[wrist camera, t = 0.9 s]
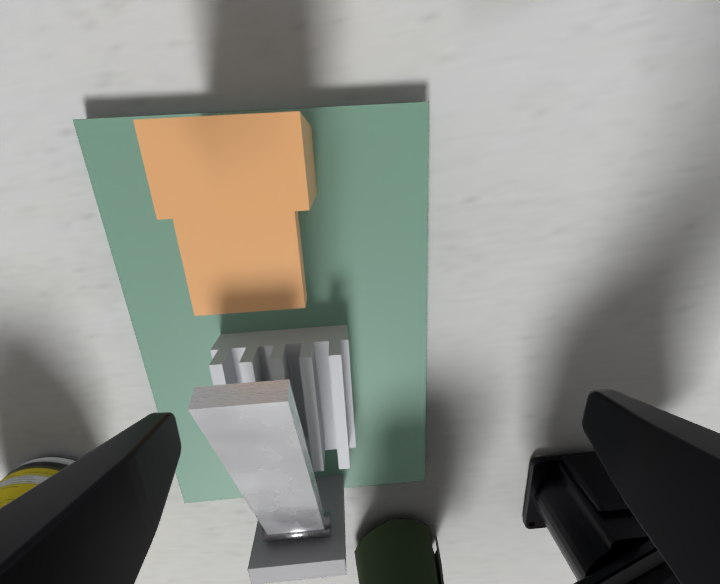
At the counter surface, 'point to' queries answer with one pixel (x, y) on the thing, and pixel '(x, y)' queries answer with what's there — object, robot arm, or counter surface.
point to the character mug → (398, 555)
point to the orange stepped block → (234, 204)
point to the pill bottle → (29, 477)
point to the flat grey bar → (264, 454)
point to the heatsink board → (294, 314)
